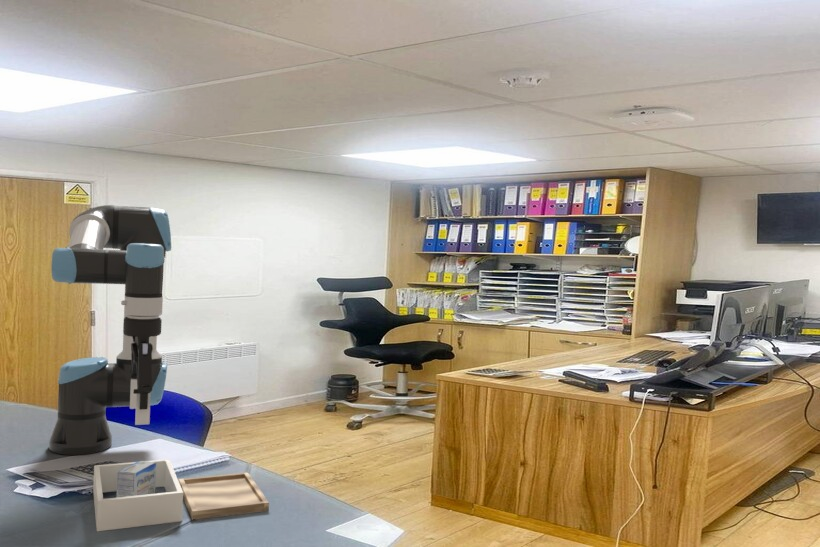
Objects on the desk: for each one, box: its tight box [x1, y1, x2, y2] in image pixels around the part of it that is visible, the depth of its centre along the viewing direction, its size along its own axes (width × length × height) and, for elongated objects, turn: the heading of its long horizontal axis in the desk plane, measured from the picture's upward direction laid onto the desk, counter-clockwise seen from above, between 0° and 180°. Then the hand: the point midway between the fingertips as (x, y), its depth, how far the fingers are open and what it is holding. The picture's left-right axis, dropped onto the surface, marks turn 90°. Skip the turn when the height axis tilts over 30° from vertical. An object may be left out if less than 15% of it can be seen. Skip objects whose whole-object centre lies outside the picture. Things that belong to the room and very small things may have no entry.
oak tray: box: [178, 472, 270, 521], centre depth 158 cm, size 20×16×2 cm
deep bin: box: [92, 458, 184, 532], centre depth 151 cm, size 22×16×6 cm
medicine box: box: [116, 460, 156, 498], centre depth 151 cm, size 8×4×9 cm, turn 168°
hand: (139, 416), depth 150 cm, fingers open, 13 cm apart
